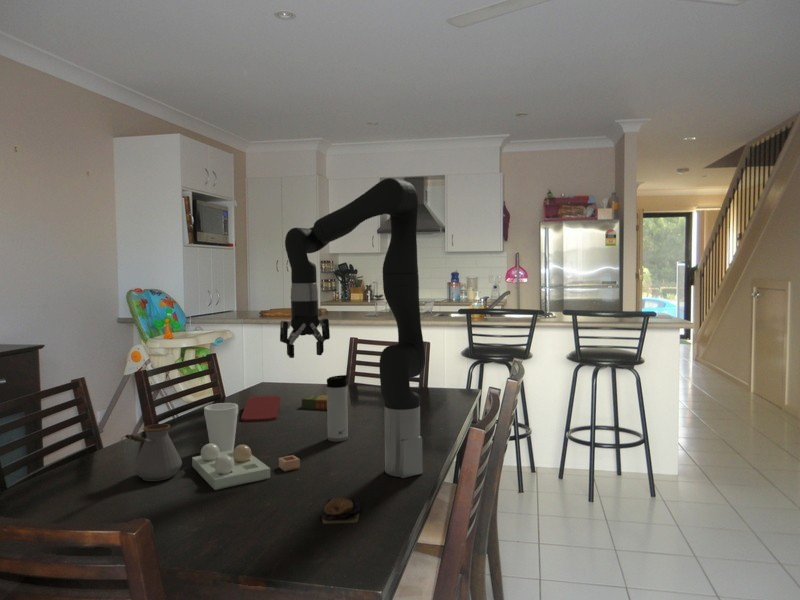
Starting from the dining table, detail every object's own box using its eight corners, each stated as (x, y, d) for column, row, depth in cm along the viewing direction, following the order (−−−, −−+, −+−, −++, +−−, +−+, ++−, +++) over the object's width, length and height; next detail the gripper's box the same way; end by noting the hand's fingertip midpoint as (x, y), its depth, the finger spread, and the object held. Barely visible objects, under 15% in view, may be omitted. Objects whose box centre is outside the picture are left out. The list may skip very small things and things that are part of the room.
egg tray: (270, 478, 149) (270, 468, 149) (214, 490, 141) (214, 479, 141) (243, 456, 166) (242, 448, 166) (192, 466, 158) (191, 457, 158)
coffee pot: (147, 468, 157) (145, 413, 157) (189, 468, 157) (188, 413, 156) (103, 499, 136) (100, 435, 135) (151, 500, 135) (149, 435, 135)
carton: (340, 411, 220) (340, 400, 220) (301, 409, 224) (300, 398, 224) (348, 406, 228) (348, 395, 228) (310, 404, 232) (309, 393, 232)
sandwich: (359, 525, 122) (359, 508, 122) (318, 526, 122) (318, 509, 121) (361, 505, 132) (361, 489, 132) (323, 505, 132) (323, 489, 132)
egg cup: (299, 468, 156) (299, 459, 156) (285, 471, 153) (284, 462, 153) (293, 464, 159) (293, 455, 159) (278, 467, 157) (278, 457, 157)
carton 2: (276, 431, 207) (281, 404, 231) (275, 418, 206) (281, 392, 230) (241, 432, 206) (250, 405, 230) (240, 419, 205) (249, 393, 229)
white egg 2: (237, 475, 146) (236, 456, 146) (217, 479, 143) (217, 459, 143) (231, 470, 150) (230, 451, 150) (212, 473, 147) (211, 454, 147)
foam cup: (229, 443, 179) (228, 401, 178) (245, 450, 172) (243, 406, 172) (199, 450, 172) (198, 406, 172) (214, 457, 166) (213, 411, 165)
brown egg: (254, 463, 154) (253, 445, 154) (236, 466, 152) (235, 448, 152) (248, 459, 159) (247, 441, 158) (230, 462, 156) (230, 444, 156)
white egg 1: (222, 462, 156) (221, 444, 156) (203, 465, 153) (203, 447, 153) (216, 457, 160) (216, 440, 160) (198, 460, 157) (198, 443, 157)
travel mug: (345, 442, 179) (344, 377, 178) (324, 441, 180) (323, 376, 179) (351, 436, 185) (350, 373, 184) (331, 435, 186) (330, 373, 185)
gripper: (285, 300, 159) (287, 360, 159) (333, 298, 166) (334, 355, 167) (275, 299, 165) (276, 357, 166) (321, 297, 173) (322, 352, 173)
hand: (305, 356), depth 166 cm, fingers open, 8 cm apart
